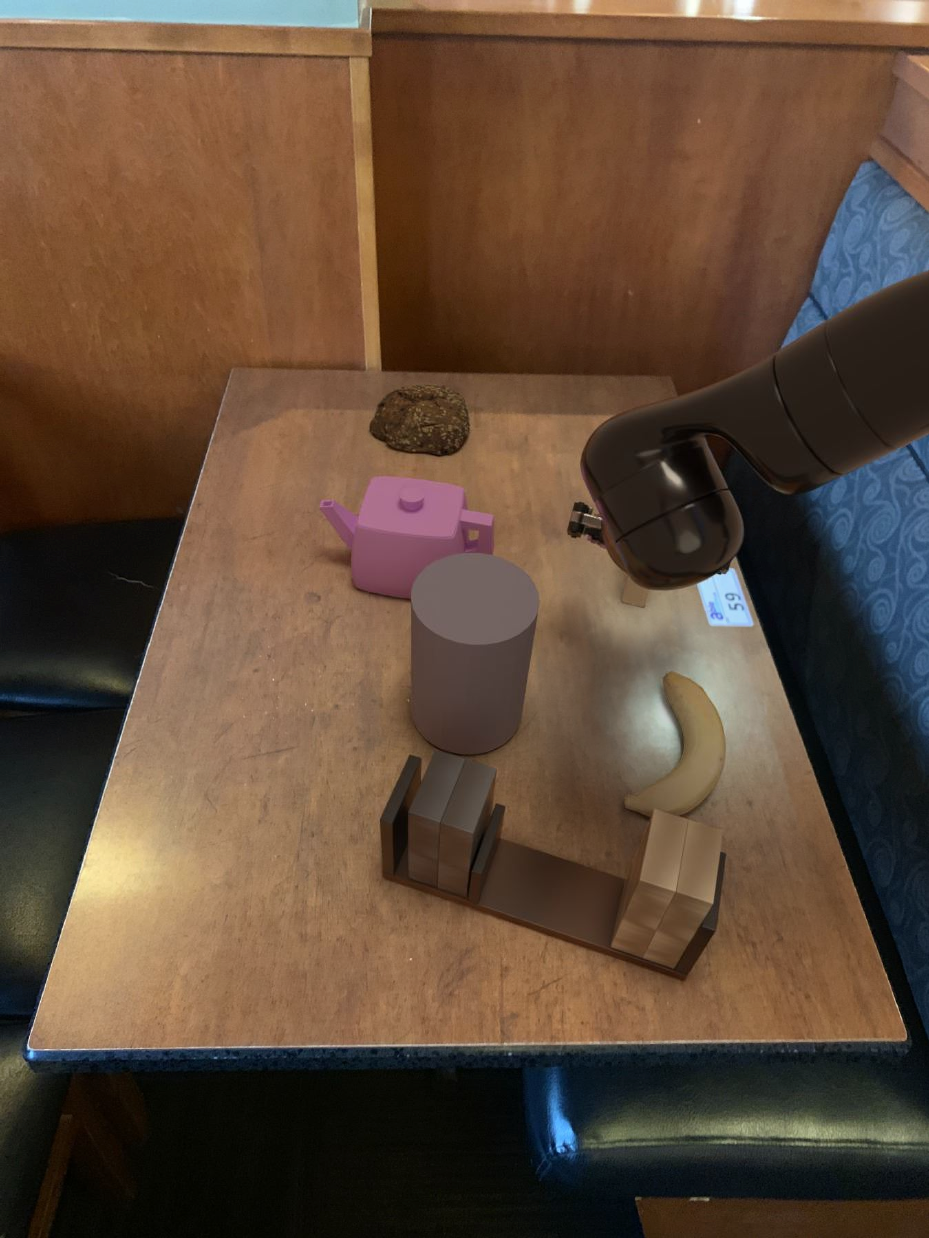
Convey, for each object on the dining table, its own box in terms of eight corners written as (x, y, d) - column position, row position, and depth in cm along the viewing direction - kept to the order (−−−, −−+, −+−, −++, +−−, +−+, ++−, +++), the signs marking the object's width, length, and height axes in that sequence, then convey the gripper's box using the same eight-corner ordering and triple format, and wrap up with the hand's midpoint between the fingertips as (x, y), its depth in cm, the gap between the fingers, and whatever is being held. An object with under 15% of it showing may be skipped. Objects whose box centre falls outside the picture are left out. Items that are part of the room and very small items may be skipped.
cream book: (652, 573, 92) (675, 493, 84) (643, 607, 89) (666, 528, 81) (631, 567, 93) (651, 488, 85) (621, 601, 89) (641, 522, 81)
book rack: (695, 907, 66) (738, 831, 58) (684, 981, 62) (728, 911, 54) (409, 814, 71) (409, 730, 62) (382, 877, 67) (378, 797, 58)
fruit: (734, 708, 80) (744, 686, 78) (703, 840, 70) (714, 820, 68) (660, 683, 82) (667, 661, 79) (620, 810, 72) (627, 789, 70)
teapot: (313, 590, 88) (305, 514, 81) (337, 525, 95) (331, 450, 88) (485, 612, 87) (492, 537, 80) (496, 545, 94) (503, 470, 87)
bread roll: (471, 403, 114) (473, 370, 110) (467, 459, 105) (470, 424, 101) (376, 397, 113) (375, 364, 110) (364, 452, 105) (363, 418, 101)
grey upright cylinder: (404, 751, 75) (403, 638, 64) (417, 662, 82) (418, 548, 71) (520, 761, 75) (539, 650, 64) (523, 671, 82) (540, 558, 71)
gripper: (760, 502, 63) (733, 525, 79) (574, 458, 65) (584, 489, 81) (733, 599, 63) (711, 603, 79) (549, 552, 66) (564, 565, 82)
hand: (647, 545), depth 80 cm, fingers open, 8 cm apart
